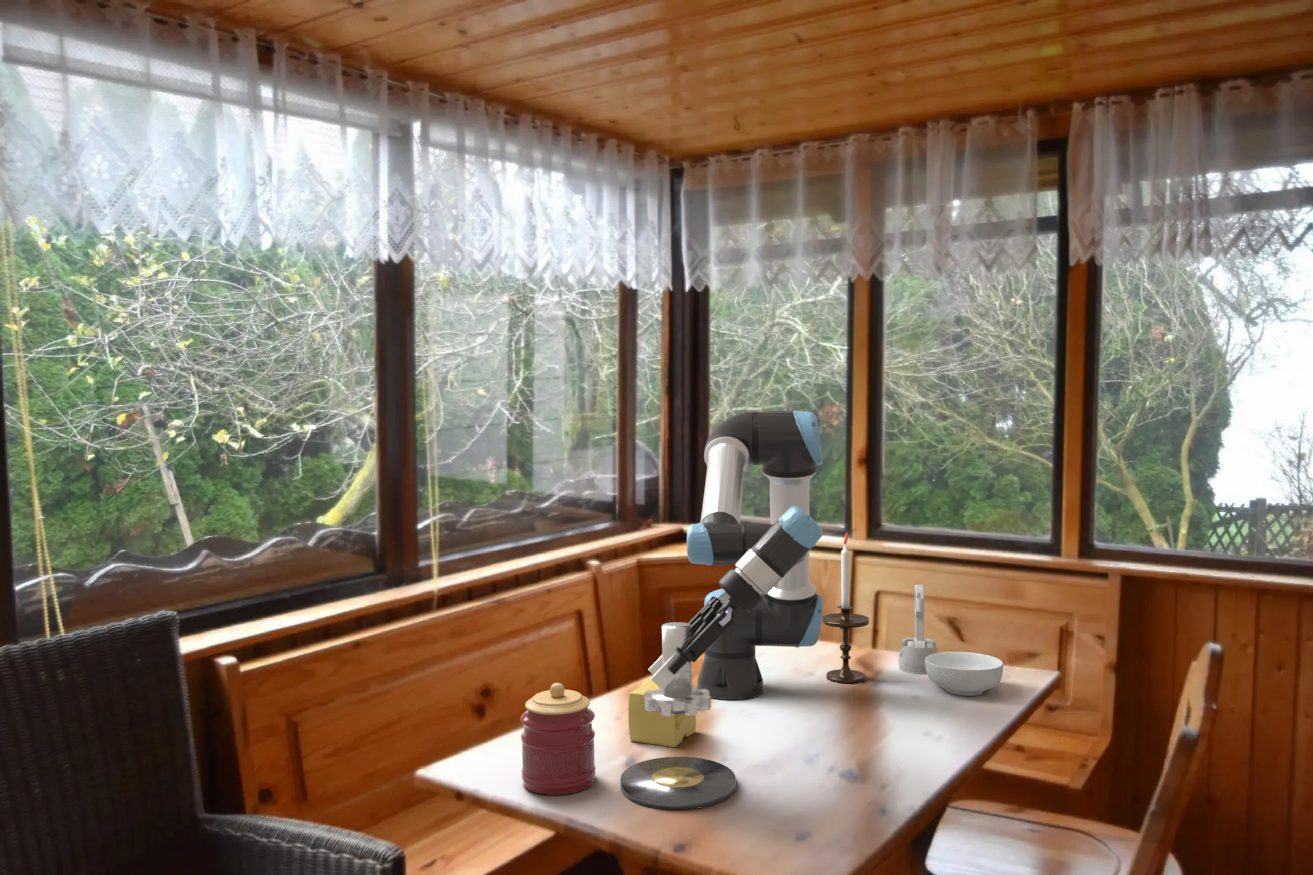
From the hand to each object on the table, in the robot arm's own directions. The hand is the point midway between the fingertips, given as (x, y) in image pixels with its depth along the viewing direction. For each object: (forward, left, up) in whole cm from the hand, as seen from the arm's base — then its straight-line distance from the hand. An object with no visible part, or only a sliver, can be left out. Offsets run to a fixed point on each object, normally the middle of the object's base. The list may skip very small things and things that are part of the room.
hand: (655, 679), depth 173 cm
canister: (-10, -14, -19) cm, 26 cm away
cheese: (-23, +12, -19) cm, 32 cm away
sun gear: (+1, +4, -5) cm, 6 cm away
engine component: (-39, +89, -19) cm, 99 cm away
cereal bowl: (-20, +86, -19) cm, 90 cm away
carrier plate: (+1, +4, -19) cm, 19 cm away
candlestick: (-40, +68, -19) cm, 81 cm away
